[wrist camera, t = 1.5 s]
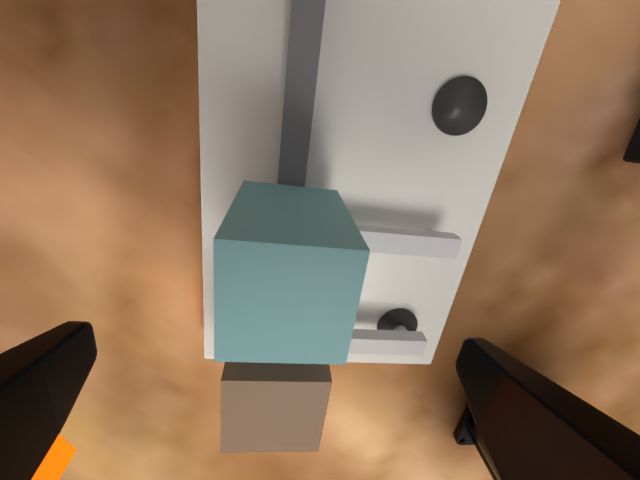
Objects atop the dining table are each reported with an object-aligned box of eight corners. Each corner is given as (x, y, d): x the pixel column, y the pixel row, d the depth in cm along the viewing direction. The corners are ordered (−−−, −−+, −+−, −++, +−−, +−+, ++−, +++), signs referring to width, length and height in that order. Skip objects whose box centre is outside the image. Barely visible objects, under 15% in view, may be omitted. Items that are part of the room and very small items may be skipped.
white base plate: (418, 342, 22) (483, 462, 15) (212, 335, 20) (169, 469, 13) (532, -6, 14) (793, -116, 7) (208, -74, 12) (91, -330, 5)
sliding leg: (434, 271, 17) (517, 368, 11) (242, 258, 15) (214, 361, 9) (457, 199, 15) (569, 266, 9) (245, 177, 14) (213, 238, 8)
